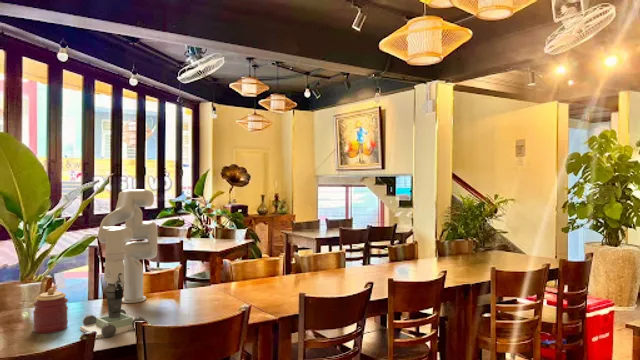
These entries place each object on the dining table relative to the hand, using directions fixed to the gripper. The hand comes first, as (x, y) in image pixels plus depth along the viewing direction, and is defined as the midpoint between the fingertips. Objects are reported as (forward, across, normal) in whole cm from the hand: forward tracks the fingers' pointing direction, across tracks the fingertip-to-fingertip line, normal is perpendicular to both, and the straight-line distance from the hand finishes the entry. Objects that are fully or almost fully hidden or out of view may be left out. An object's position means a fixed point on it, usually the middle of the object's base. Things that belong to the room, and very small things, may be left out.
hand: (114, 296), depth 195 cm
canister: (+14, -19, -19) cm, 30 cm away
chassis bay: (+14, 0, 0) cm, 14 cm away
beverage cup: (+9, 0, 0) cm, 9 cm away
